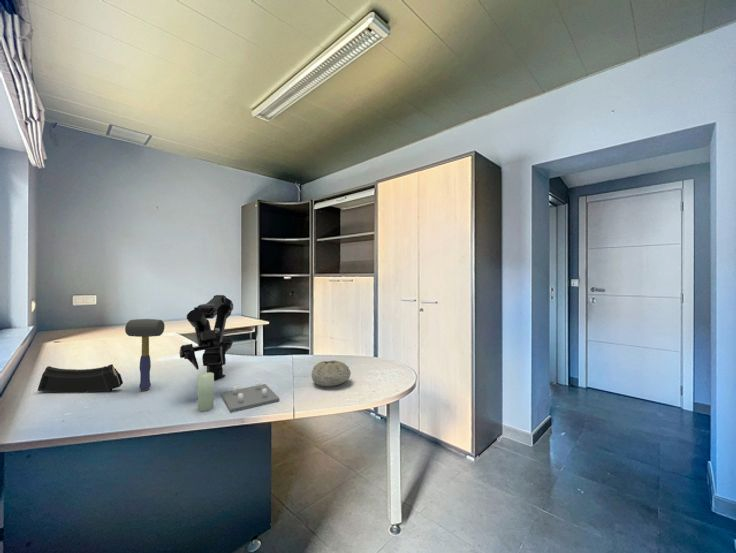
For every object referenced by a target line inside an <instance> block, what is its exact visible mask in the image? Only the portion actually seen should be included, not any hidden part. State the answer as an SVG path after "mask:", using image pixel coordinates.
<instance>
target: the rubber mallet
mask: <svg viewBox="0 0 736 553" xmlns="http://www.w3.org/2000/svg"><path fill="white" fill-rule="evenodd" d="M124 331H125V334H126V335H127V336H128V337H136V338H137V337H140V338H141V356H140V359H139V373H140V378H139V379H140V380H139V385H138V388H139V389H140V391H148V390H150V389H151V387H152V386H151V385H152V383H151V380H150V379H151V367H152V365H151V364H152V363H151V362H152V361H151V356H150V337H159V336H162V335H163V333H164V331H165V323H164V321H163V320H162V319H157V318H155V319H153V318H138V319H137V318H135V319H130V320H128V321H127V322H126V324H125V328H124Z"/></svg>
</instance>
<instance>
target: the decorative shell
mask: <svg viewBox="0 0 736 553" xmlns="http://www.w3.org/2000/svg"><path fill="white" fill-rule="evenodd" d="M351 374H352V373H351V370H350V368H349V366H348V365H347V364H346V363H345V362H341V361H339V360H323V361H322V360H321V361H320V362H317V363H316V364H315V365H314V366H313V368H312V370H311V379H312V381H313V382H314V384H316V385H319V386H322V387H336V386H338V385H341V384H343V383H344V382H347V381H348V380H349V379H350V377H351Z"/></svg>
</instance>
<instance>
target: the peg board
mask: <svg viewBox="0 0 736 553" xmlns="http://www.w3.org/2000/svg"><path fill="white" fill-rule="evenodd" d="M238 387H239V386H238V385H234V386H232V390H228V391H222V392H220V396H222V397H221V398H222V400H223V402H224V403H226V404H225V405H227V406H226V407H227V410H228V411H229V413H235V412H239V410H240V411H243V409H244V410H248V409H252V408H256V407H260V406H266V405H269V403H270V404H274V403H279V402H280V397H279V396H278V395H277V394H276V393H275V392H274V391H273V390H272V389H271V388H270V386H268V385H267V384H266V383H264V384H261V381H256V382H255V385H254V386H248V387H243V388H238ZM234 411H235V412H234Z"/></svg>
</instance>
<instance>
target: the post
mask: <svg viewBox="0 0 736 553" xmlns="http://www.w3.org/2000/svg"><path fill="white" fill-rule="evenodd" d="M214 385H215V380H214V373H211V372H208V373H207V372H203V373H199V374H198V375H197V411H198V410H199V411H198V412H208V411H210V409H211V410H213V409H214V401H215V400H214V399H215V398H214V395H215V392H214V390H215V387H214ZM212 408H213V409H212ZM207 410H208V411H207Z"/></svg>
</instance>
